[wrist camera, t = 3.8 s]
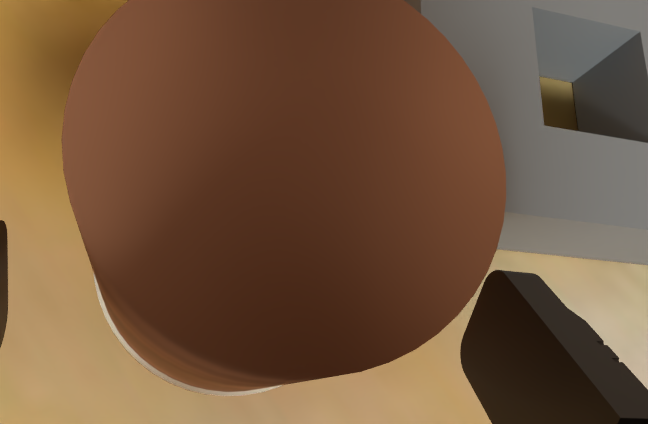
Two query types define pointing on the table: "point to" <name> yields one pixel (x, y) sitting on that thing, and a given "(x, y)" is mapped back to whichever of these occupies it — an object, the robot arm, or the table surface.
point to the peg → (279, 186)
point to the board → (556, 143)
